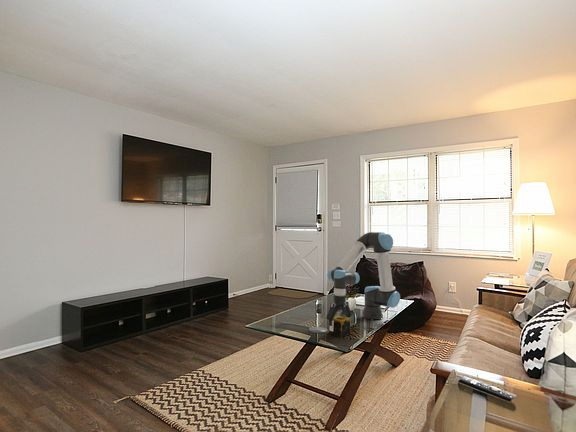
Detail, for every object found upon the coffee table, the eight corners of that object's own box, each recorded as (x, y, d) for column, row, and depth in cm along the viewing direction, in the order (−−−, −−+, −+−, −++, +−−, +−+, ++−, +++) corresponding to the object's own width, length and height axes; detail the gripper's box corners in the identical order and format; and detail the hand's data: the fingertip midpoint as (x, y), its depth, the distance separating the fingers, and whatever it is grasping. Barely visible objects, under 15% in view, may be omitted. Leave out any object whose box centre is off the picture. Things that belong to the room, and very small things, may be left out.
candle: (327, 334, 213) (328, 317, 213) (337, 330, 220) (337, 315, 220) (341, 337, 206) (341, 321, 206) (350, 334, 213) (351, 318, 213)
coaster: (318, 326, 228) (318, 325, 228) (331, 331, 218) (331, 330, 218) (305, 329, 221) (305, 328, 221) (317, 334, 211) (317, 333, 211)
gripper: (348, 292, 224) (348, 324, 223) (321, 295, 209) (320, 330, 208) (357, 294, 218) (357, 327, 217) (329, 297, 203) (329, 333, 202)
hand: (339, 329), depth 213 cm, fingers open, 13 cm apart
